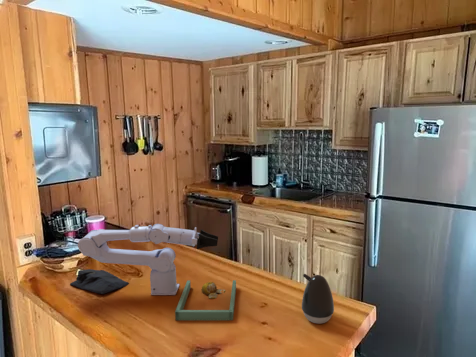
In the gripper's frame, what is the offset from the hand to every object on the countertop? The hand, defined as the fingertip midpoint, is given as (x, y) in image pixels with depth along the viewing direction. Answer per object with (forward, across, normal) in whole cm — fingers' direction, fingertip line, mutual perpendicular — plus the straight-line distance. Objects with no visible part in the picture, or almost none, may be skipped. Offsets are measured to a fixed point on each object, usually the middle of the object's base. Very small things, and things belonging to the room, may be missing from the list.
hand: (217, 241), depth 133 cm
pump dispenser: (+36, -19, +18) cm, 44 cm away
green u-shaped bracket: (0, -6, +21) cm, 22 cm away
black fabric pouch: (-45, +12, +26) cm, 53 cm away
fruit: (+1, 0, +20) cm, 20 cm away
